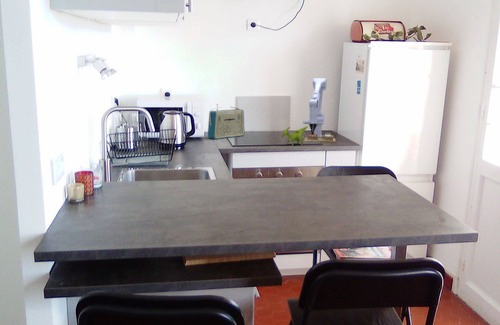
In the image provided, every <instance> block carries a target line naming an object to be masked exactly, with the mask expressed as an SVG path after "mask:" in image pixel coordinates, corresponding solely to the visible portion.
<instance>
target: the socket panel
mask: <svg viewBox="0 0 500 325" xmlns="http://www.w3.org/2000/svg"><path fill="white" fill-rule="evenodd" d="M310 134H311V133H308V134H307V135H306V137H304V140H303V142H311V141H313V142H314V143H333V144H334V143H336V138H334V135H332V134H331V137H325V134H321V135H322V137H318V135H316V136H309V135H310Z"/></svg>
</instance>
